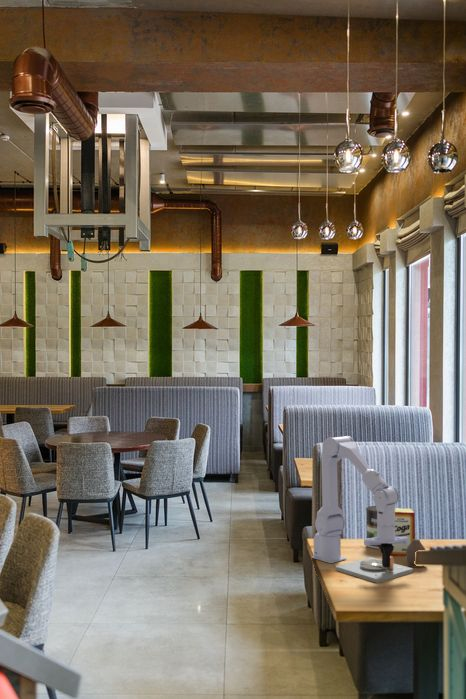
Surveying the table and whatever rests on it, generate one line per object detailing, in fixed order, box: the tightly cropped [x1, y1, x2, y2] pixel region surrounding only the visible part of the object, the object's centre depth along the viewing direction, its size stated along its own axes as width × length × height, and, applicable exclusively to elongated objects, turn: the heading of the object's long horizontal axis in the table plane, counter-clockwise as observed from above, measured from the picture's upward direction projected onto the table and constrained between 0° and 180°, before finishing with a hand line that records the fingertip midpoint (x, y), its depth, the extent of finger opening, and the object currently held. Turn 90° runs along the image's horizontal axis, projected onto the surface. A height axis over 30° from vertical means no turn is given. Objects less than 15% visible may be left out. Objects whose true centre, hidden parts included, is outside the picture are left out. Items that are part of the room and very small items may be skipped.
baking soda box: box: [390, 507, 416, 557], centre depth 251 cm, size 10×6×16 cm
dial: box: [360, 556, 394, 571], centre depth 229 cm, size 12×9×4 cm
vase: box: [405, 538, 426, 568], centre depth 236 cm, size 7×7×9 cm
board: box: [335, 556, 414, 584], centre depth 230 cm, size 18×18×1 cm
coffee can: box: [365, 505, 380, 550], centre depth 262 cm, size 10×10×14 cm
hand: (386, 566), depth 225 cm, fingers closed, pressing on dial
